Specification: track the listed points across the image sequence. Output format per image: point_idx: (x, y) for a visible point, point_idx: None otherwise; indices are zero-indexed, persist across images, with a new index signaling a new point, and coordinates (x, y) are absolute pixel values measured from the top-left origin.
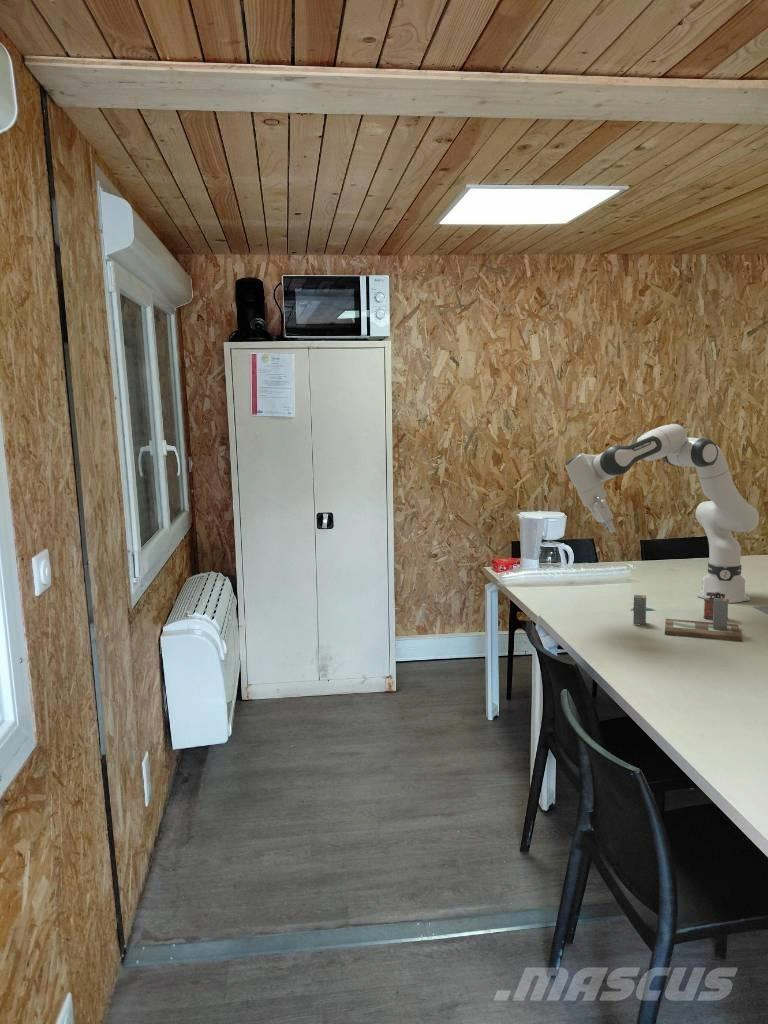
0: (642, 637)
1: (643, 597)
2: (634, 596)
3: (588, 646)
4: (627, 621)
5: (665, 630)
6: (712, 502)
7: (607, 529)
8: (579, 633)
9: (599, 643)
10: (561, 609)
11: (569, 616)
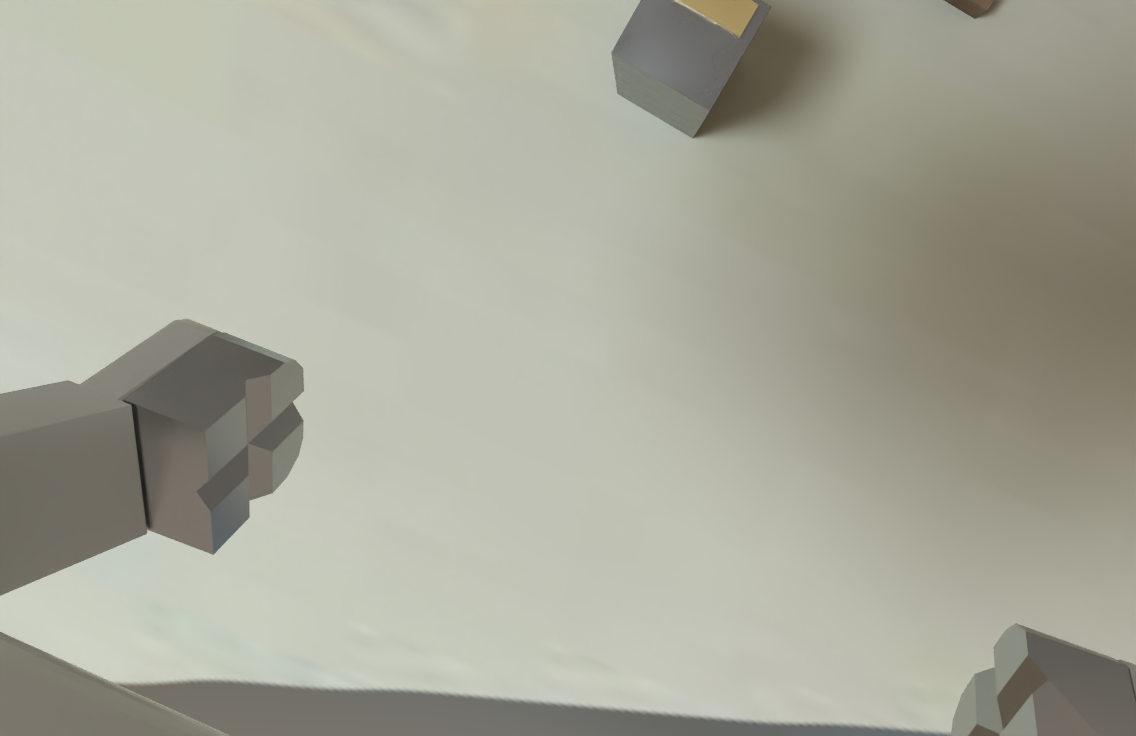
0: (990, 216)
1: (748, 20)
2: (670, 83)
3: None
4: (602, 142)
5: (989, 6)
6: None
7: (247, 489)
8: (788, 599)
9: (1026, 562)
10: None
11: (392, 507)
